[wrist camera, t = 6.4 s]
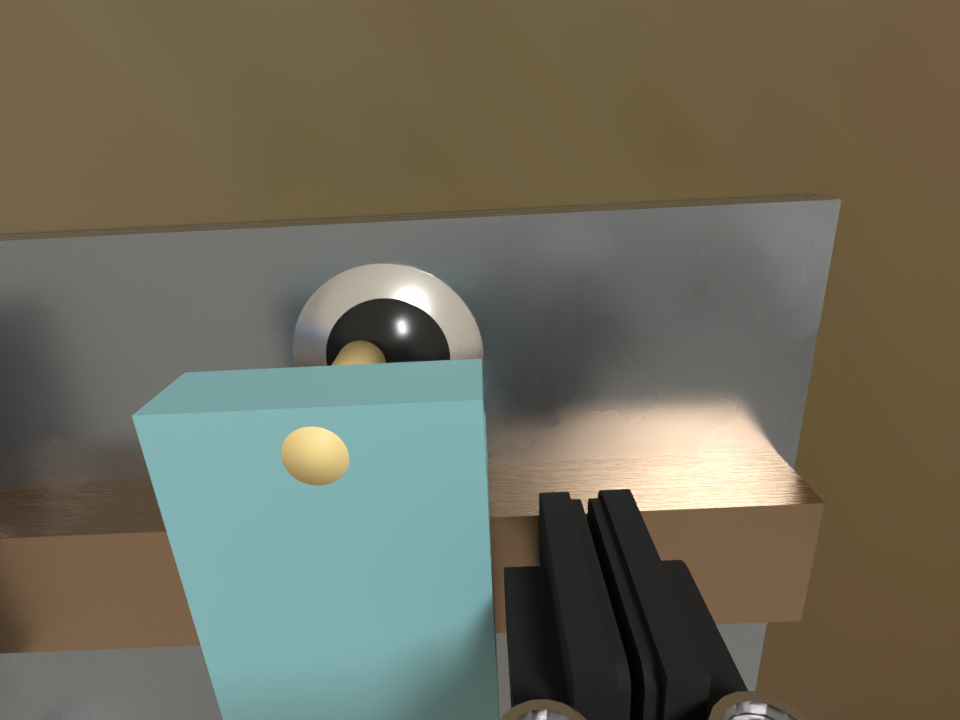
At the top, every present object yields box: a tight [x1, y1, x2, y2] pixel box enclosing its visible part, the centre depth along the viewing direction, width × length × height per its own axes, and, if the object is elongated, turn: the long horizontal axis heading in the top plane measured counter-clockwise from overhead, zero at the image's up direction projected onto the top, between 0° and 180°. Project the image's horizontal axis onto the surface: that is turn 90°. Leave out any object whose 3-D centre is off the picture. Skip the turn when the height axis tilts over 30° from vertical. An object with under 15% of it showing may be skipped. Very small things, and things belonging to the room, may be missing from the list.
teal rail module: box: [132, 341, 500, 720], centre depth 11 cm, size 5×8×4 cm, turn 3°
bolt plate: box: [0, 194, 841, 720], centre depth 12 cm, size 24×14×5 cm, turn 93°
